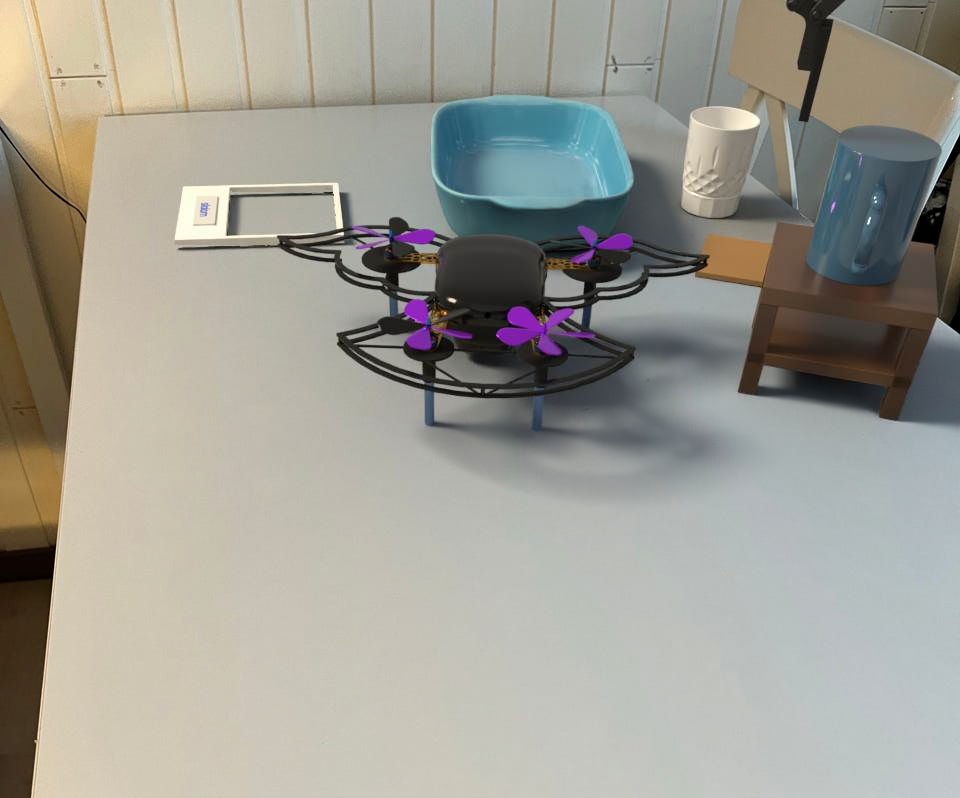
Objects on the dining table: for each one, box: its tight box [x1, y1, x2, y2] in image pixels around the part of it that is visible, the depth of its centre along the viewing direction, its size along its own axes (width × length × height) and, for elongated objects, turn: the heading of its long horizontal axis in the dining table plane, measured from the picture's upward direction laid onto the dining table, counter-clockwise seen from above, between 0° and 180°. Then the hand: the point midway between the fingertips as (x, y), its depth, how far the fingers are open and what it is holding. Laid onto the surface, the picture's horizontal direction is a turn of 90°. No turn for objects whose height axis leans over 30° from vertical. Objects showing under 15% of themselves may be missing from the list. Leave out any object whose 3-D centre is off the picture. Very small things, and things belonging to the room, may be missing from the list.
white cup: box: [680, 105, 762, 219], centre depth 115 cm, size 8×8×10 cm
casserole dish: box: [430, 94, 635, 251], centre depth 115 cm, size 37×22×7 cm, turn 2°
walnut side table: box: [737, 221, 939, 421], centre depth 89 cm, size 14×14×10 cm
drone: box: [277, 216, 710, 432], centre depth 86 cm, size 40×10×28 cm
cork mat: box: [694, 233, 772, 288], centre depth 108 cm, size 10×10×1 cm
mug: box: [806, 124, 943, 286], centre depth 81 cm, size 8×11×10 cm
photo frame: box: [174, 182, 345, 247], centre depth 112 cm, size 15×1×18 cm
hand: (891, 128), depth 78 cm, fingers open, 13 cm apart
